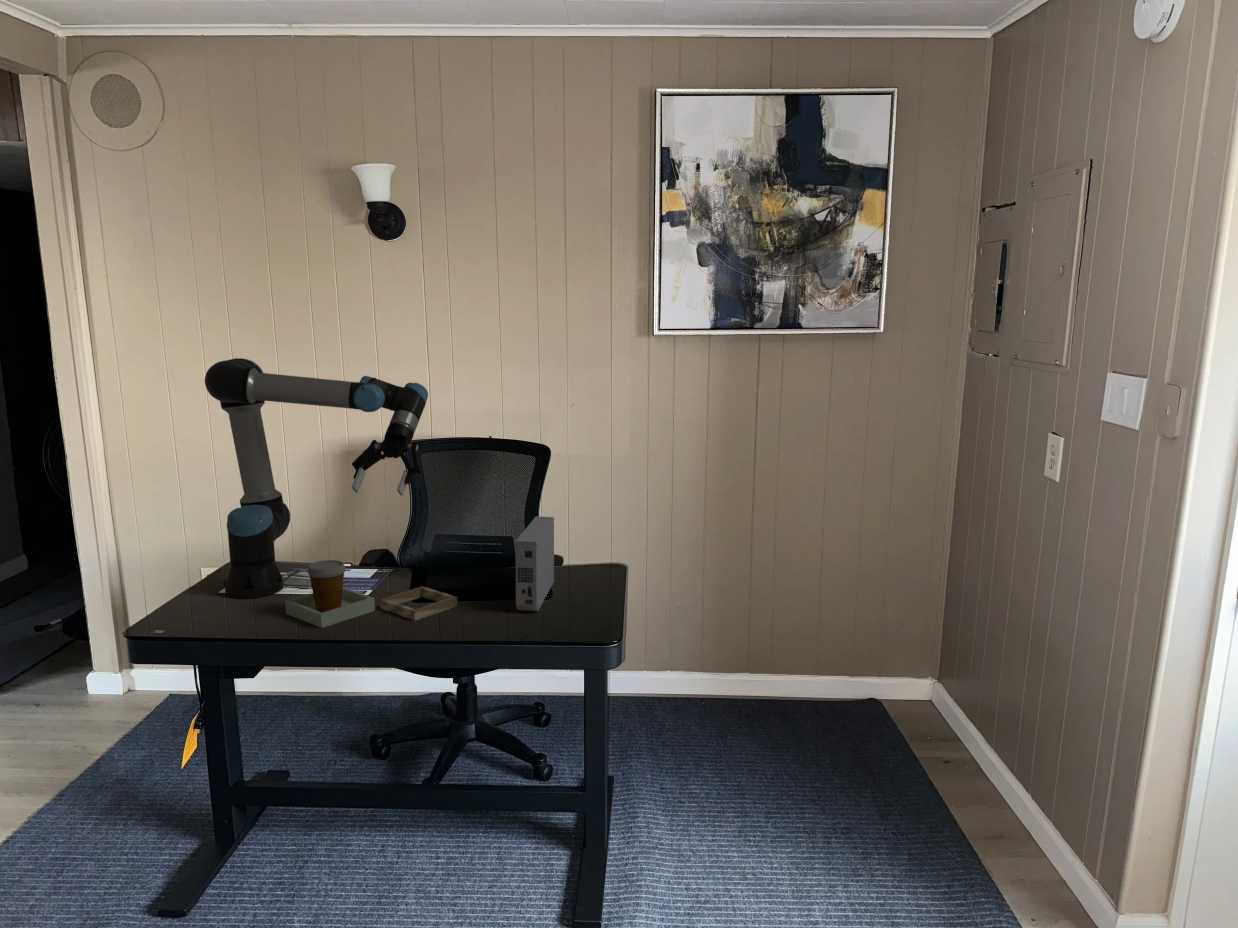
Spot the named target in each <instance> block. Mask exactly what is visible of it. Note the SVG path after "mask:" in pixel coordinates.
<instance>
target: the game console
mask: <svg viewBox="0 0 1238 928" xmlns="http://www.w3.org/2000/svg"><path fill="white" fill-rule="evenodd" d="M514 546H515V547H514V548H515V550H514V552H515V554H514V555H515V556H514V557H515V558H514V559H515V606H516V610H517V611H519V610H520V612H521V611H522V612H524V611H525V612H539V611H540V609H541V607H542V606H541V605H543V604H544V602H545V600H546V598H547V596H548V595H547V594H549V593H550V591H551V589H552V587H553V586H552V585H554V584H553V583H555V518H554V517H552V516H537V515H536V516H535V517H534V518H533V519H532V521H531V522H529V524H528V526H527V527H526V528H525V529H524V530H523V531H522V533H521V534H520V535H519V536H518V537H517V539H516V540H515V542H514ZM551 586H552V587H551ZM550 588H551V589H550ZM549 590H550V591H549ZM548 592H549V593H548ZM545 597H546V598H545ZM544 599H545V600H544ZM543 601H544V602H543ZM542 603H543V604H542ZM539 608H540V609H539ZM538 610H539V611H538Z"/></svg>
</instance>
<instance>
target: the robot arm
mask: <svg viewBox="0 0 1238 928" xmlns="http://www.w3.org/2000/svg"><path fill="white" fill-rule="evenodd" d="M204 385H205V386H204V387H205V388H206V390H207V392H208V394H209V395H210V396H211V397H212V398H214V399H215V400H217V401H219V402H220V407H221V410H223V411H224V412H226V413H227V414H228V418H229V424H230V428H231V433H232V440H233V444H234V450H235V454H236V459H237V464H238V465H237V466H238V471H239V476H240V480H241V486H242V491H243V495H242V496H241V498H240V499H239V504H240V505H239V506H240V507H236V508H234V509H232V510H231V511H230V512H229V513H228V514H227V519H226V521H227V522H226V529H227V539H228V540H227V542H228V552H229V565H230V566H229V570H228V574H227V576H226V580H225V585H224V589H225V595H226V596H228V597H230V598H233V599H234V598H235V599H256V598H261V597H266V596H270V595H275V594H276V593H279V592H280V591H282V590H283V589H284V578H283V576H282V574H281V572H280V570H279V567H278V565H277V563H276V555H275V554H276V552H275V551H276V550H275V541H277V539H278V538H280V537H281V536H283V535H284V534H285V532H286V531H287V529H288V527H289V525H290V522H291V511H290V510H289V508H288V506H287V503H286V504H285V503H284V500H283V498H284V497H283V493H282V492H280V491H279V490H277V489H276V486H275V481H274V475H273V470H272V466H271V465H272V464H271V459H270V455H269V454H270V453H269V448H268V443H267V437H266V432H265V427H264V421H263V415H262V410H261V409H262V407H263V406H264V405H265V403H266V402H275V403H283V404H286V403H287V404H294V405H295V404H296V405H297V404H298V405H309V406H317V407H329V408H339V409H340V408H341V409H342V408H343V409H349V410H350V409H351V410H359V411H361V412H364V413H374V412H376V411H378V410H380V409H381V408H382V409H386V410H389V411H392V412H393V414H392V416H391V419H390V421H389V424H388V425H387V428H386V431H385V433H384V437H383V440H382V441H381V442H380V441H377V440H376V439H372V440H371V442H370V444H369V446H368V447H367V448H366V449H365V450H363V452H362V453H361V454H359V455H358V457H356V459H354V461H353V462H352V463H351V465H352V467H353V468H354V470H355V472H354V474H353V483H352V485H351V488H352V490H353V491H354V492H355V493H359V491H360V489H361V487H362V485H363V481H364V480H365V476H366V474H367V473H366V471H367V470H369V469H370V468H371V467H372V466H374V465H375V464H376V463H378V462H379V461H381V460H385V459H386V458H387V459H388V458H389V459H390V458H391V459H392V458H394V459H398V458H400V459H401V460H402V462H403V464H404V466H405V468H406V469H405V470H403V473H402V474H401V478H400V480H399V483H398V484H397V485H398V486H397V488H396V491H397V493H398V494H399V496H404V493H405V491H406V488H407V485H410V483H411V481H412V479H413V477H414V475H416V474H417V475H420V474H421V473H422V467H421V462H420V457H419V450H420V447H419V445H418V443H417V442H416V441H413V437H414V434H415V432H416V430H417V427H418V425H419V422H420V420H421V418H422V415H423V413H424V410H425V407H426V404H427V400H428V397H429V393H428V390H427V388H426V387H425V386H424V385H422V384H421V383H419V382H412V381H410V382H407V383H406V384H405V385H404V386H399V385H395V384H392V383H390V382H387V381H384V380H382V379H378V378H377V377H372V376H369V375H363V376H362V377H361V379H360V380H359V382H357V381H348V380H337V379H327V378H320V377H319V378H318V377H317V378H315V377H306V376H296V375H289V374H288V375H287V374H277V373H268V372H264V371H263V369H262V368H261V367H260V366H259V365H258V364H257V363H256V362H255V361H253V360H251V359H248V358H238V357H237V358H236V357H235V358H231V359H225V360H221V361H218V362H215V363H214V364H212V365H211V366H210V367H209V368H208V370H207V371H206V373H205V376H204ZM412 441H413V442H412ZM408 451H410V453H411V458H412V464H413V467H412V465H411V464H410V461H409V460H408V458H407V456H406V452H408Z"/></svg>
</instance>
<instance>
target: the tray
mask: <svg viewBox="0 0 1238 928" xmlns="http://www.w3.org/2000/svg"><path fill="white" fill-rule="evenodd" d="M375 602H376V600H375V597H372V596H369V595H367V594H364V593H361V592H358V591H355V590H353V589H349V588H346V587H344V586H343V592H342V603H341V607H339V608H336V609H333V610H329V611H326V612H319V611H316V607H315V601H314V596H313V592H312V593H308V594H305V595H301V596H298V597H295V598H291V599H288V600H287V599H286V600H285V601H284V603H285V614H286V615H289V616H291V617H293V618H296V619H298V620H301V621H303V622H306V623H309V624H311V625H313V626H316V627H318V628H321V629H323V628H326V627H329V626H332V625H335V624H338V623H341V622H344V621H348V620H350V619H353V618H356V617H359V616H360V617H361V616H363V615H366V614H368V613H372V612H375V611H376V605H375V604H376V603H375ZM322 627H323V628H322Z"/></svg>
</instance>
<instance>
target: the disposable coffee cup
mask: <svg viewBox="0 0 1238 928" xmlns="http://www.w3.org/2000/svg"><path fill="white" fill-rule="evenodd" d="M346 569H347V568H346V566H345V563H344V562H343V561H341V560H335V559H327V560H320V561H315V562H312V563H310V564H309V565H308V569H307V574H308V576H309V578H310V579H309V581H310V585H311V590H312V593H313V596H314V601H315V607H316V611H319V612H326V611H329V610H333V609H336V608H339V607H341V603H342V592H343V587H344V579H345V578H344V577H345V571H346Z"/></svg>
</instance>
